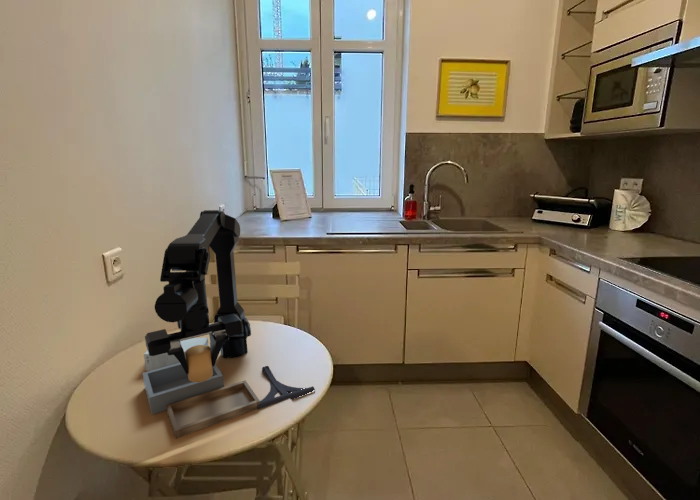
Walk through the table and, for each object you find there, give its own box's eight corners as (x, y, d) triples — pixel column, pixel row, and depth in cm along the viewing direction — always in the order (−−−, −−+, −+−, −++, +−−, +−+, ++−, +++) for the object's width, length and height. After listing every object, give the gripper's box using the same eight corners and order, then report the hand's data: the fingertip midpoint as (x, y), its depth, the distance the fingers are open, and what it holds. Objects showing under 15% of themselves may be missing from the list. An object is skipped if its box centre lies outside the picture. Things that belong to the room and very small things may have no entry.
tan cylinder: (209, 367, 90) (207, 342, 89) (215, 377, 86) (213, 352, 85) (186, 373, 88) (183, 348, 86) (191, 384, 84) (188, 358, 82)
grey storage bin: (211, 371, 107) (209, 354, 106) (224, 393, 98) (222, 375, 96) (145, 391, 99) (142, 372, 98) (152, 417, 89) (149, 397, 88)
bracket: (289, 367, 110) (289, 358, 110) (314, 394, 98) (315, 384, 98) (237, 381, 103) (237, 371, 102) (258, 412, 90) (258, 401, 90)
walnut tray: (246, 389, 99) (245, 380, 99) (260, 410, 91) (260, 401, 91) (167, 415, 90) (166, 405, 89) (176, 441, 82) (174, 431, 81)
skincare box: (145, 373, 107) (202, 371, 108) (142, 353, 105) (201, 351, 106) (157, 357, 115) (210, 355, 116) (154, 338, 113) (209, 336, 114)
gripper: (226, 282, 94) (231, 343, 98) (137, 299, 84) (147, 365, 88) (241, 296, 85) (247, 363, 89) (143, 317, 75) (154, 390, 79)
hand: (200, 369), depth 87 cm, fingers closed on tan cylinder, 5 cm apart
